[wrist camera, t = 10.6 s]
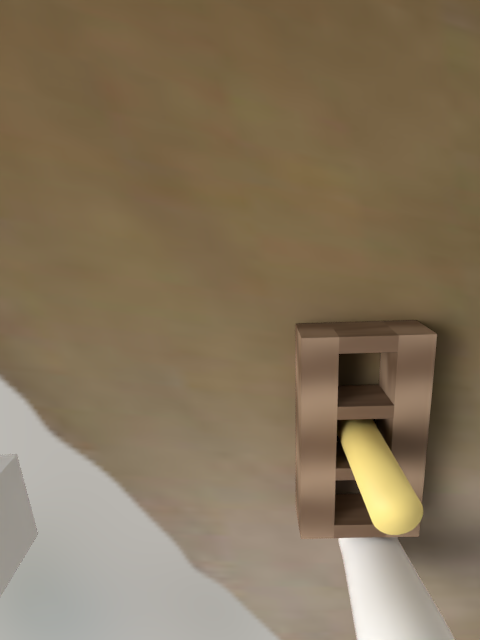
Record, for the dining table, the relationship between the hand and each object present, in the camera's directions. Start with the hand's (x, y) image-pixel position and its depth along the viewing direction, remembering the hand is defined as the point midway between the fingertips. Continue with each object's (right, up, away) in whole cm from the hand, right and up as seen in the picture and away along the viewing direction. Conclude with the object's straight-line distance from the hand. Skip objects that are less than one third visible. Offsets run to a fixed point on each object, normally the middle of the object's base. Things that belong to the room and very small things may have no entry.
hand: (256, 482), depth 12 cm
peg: (+9, -4, +26) cm, 28 cm away
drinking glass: (+12, -16, +29) cm, 35 cm away
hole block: (+9, -4, +26) cm, 28 cm away
